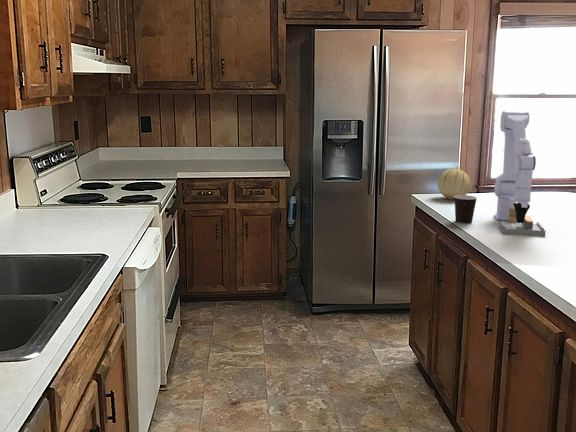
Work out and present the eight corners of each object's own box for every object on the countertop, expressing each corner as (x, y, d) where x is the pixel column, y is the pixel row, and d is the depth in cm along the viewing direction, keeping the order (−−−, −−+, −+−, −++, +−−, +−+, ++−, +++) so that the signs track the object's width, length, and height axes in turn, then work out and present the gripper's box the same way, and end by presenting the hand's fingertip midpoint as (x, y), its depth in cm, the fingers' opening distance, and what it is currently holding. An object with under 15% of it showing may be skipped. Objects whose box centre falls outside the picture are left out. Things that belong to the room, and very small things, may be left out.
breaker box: (498, 227, 249) (499, 220, 248) (539, 229, 246) (540, 222, 245) (502, 234, 238) (503, 226, 238) (545, 236, 235) (545, 228, 235)
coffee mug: (458, 218, 264) (459, 194, 261) (478, 221, 258) (480, 197, 256) (445, 223, 255) (447, 198, 253) (466, 226, 249) (467, 201, 247)
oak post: (507, 224, 254) (509, 206, 252) (515, 224, 253) (517, 207, 252) (508, 225, 251) (510, 208, 249) (516, 226, 250) (518, 208, 249)
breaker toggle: (521, 223, 246) (522, 215, 245) (528, 223, 245) (529, 216, 245) (525, 228, 237) (526, 220, 236) (532, 229, 237) (533, 221, 236)
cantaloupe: (436, 201, 299) (437, 169, 296) (438, 195, 313) (440, 164, 309) (468, 203, 295) (471, 170, 291) (469, 197, 308) (471, 166, 305)
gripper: (509, 183, 246) (506, 217, 249) (514, 190, 232) (511, 226, 235) (528, 184, 245) (525, 218, 248) (535, 190, 231) (531, 227, 234)
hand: (519, 222), depth 241 cm, fingers closed, pressing on breaker toggle
